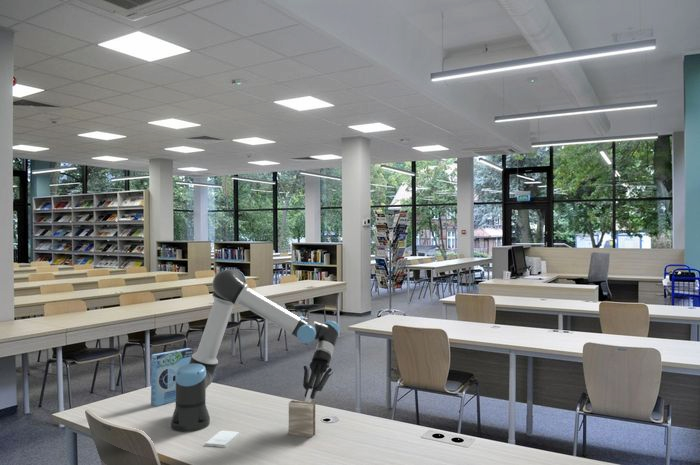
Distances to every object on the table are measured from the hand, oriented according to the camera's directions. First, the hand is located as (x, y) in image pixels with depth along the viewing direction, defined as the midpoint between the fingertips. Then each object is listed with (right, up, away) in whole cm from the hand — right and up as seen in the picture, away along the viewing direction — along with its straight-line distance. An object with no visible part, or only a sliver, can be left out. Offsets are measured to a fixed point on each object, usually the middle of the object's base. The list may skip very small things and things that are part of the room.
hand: (306, 405), depth 195 cm
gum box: (-66, -11, +37) cm, 77 cm away
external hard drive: (-31, -10, -9) cm, 34 cm away
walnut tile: (-2, -10, -3) cm, 11 cm away
